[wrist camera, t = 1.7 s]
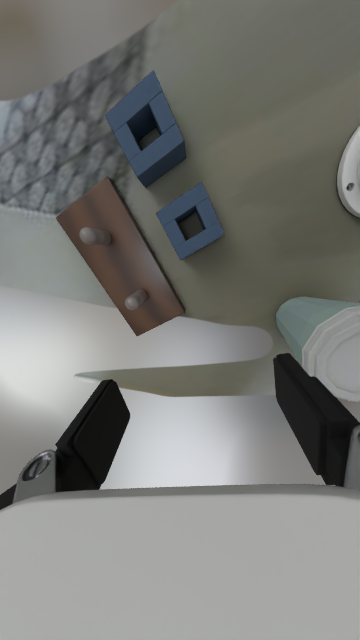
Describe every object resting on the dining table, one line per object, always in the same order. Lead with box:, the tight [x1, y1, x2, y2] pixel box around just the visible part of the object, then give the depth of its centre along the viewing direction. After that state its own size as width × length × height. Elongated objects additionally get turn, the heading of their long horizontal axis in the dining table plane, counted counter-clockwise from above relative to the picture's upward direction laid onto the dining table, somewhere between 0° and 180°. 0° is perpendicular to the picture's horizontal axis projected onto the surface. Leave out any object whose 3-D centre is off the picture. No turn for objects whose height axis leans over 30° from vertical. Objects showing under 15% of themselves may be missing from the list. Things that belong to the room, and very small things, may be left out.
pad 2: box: [156, 182, 225, 260], centre depth 25 cm, size 7×7×4 cm
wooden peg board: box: [56, 176, 185, 336], centre depth 27 cm, size 10×22×7 cm, turn 29°
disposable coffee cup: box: [276, 296, 360, 401], centre depth 23 cm, size 11×11×15 cm
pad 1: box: [105, 70, 186, 187], centre depth 22 cm, size 7×7×4 cm
